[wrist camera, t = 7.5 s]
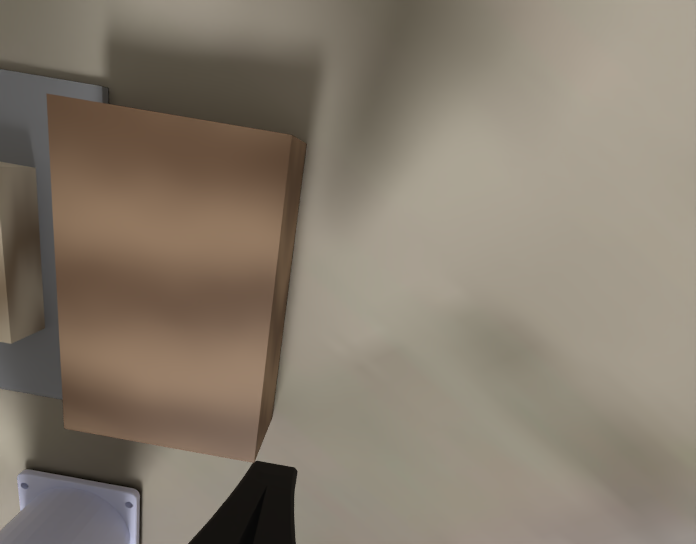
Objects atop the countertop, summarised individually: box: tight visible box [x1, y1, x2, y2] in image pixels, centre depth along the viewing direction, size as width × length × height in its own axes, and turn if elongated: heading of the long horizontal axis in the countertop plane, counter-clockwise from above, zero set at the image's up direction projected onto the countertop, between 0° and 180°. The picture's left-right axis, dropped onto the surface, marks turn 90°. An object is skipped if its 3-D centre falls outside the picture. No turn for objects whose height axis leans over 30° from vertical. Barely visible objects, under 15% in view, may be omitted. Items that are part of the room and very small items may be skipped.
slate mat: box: [0, 69, 108, 400], centre depth 19 cm, size 18×12×1 cm, turn 171°
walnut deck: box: [46, 93, 307, 463], centre depth 18 cm, size 16×10×4 cm, turn 171°
